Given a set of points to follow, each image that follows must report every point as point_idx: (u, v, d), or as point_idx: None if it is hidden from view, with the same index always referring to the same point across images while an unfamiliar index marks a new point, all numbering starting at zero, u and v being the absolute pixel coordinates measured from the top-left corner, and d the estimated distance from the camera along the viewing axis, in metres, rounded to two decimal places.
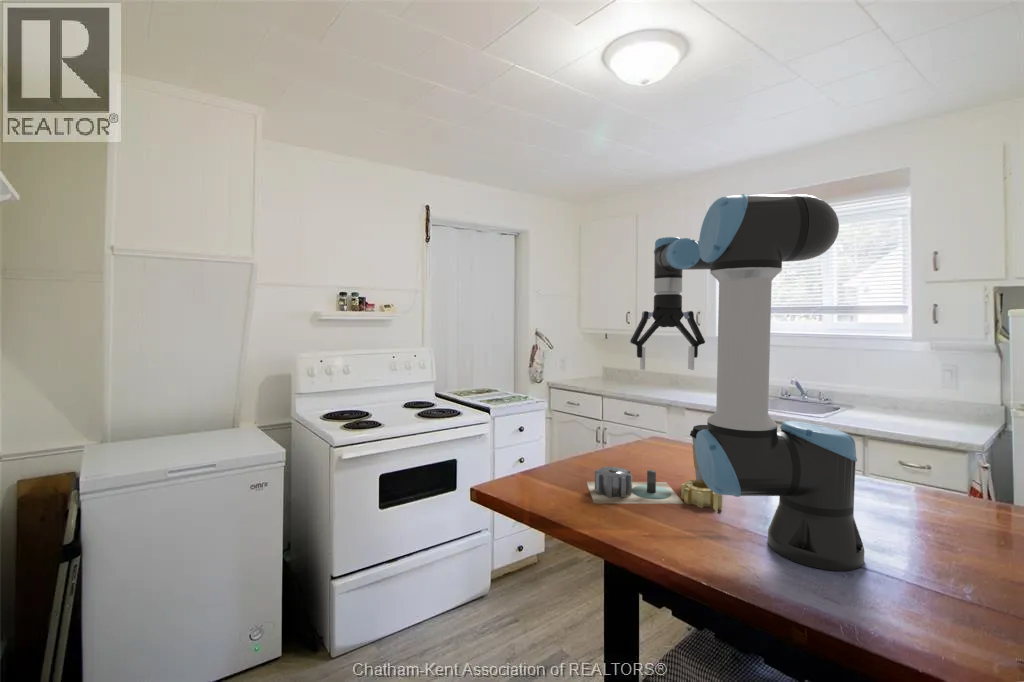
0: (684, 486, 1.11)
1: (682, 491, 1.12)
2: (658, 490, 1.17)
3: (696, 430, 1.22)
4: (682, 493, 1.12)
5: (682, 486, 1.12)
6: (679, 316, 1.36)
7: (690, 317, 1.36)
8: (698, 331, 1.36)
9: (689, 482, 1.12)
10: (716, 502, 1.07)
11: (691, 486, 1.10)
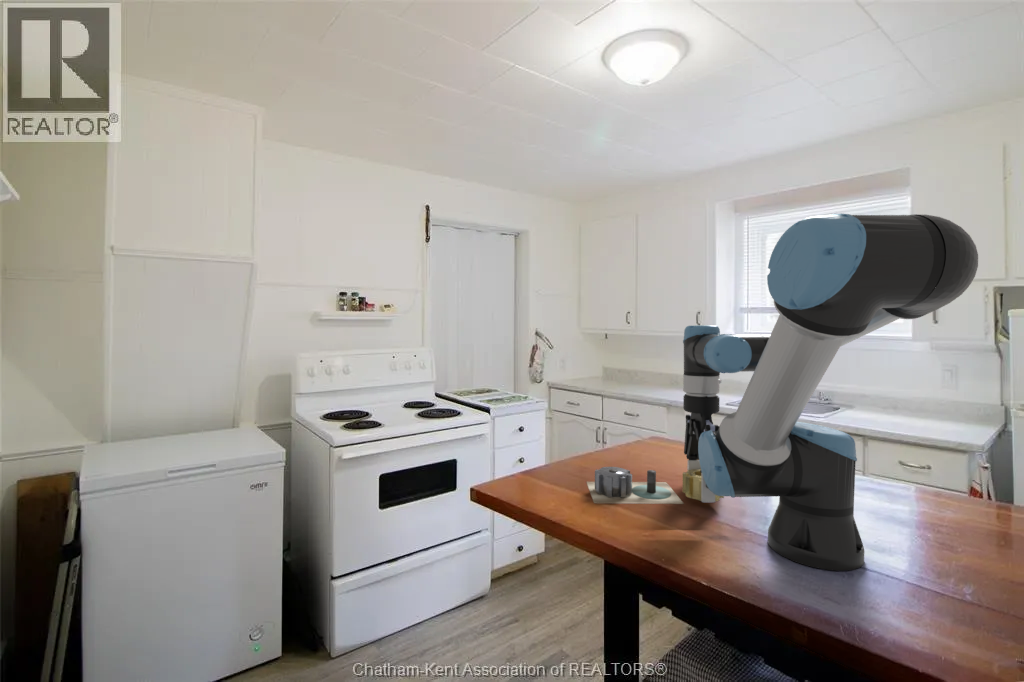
0: (685, 475, 1.11)
1: (683, 480, 1.11)
2: (658, 490, 1.17)
3: None
4: (683, 482, 1.11)
5: (683, 475, 1.11)
6: (700, 424, 1.07)
7: (705, 432, 1.04)
8: None
9: (690, 471, 1.12)
10: None
11: (692, 474, 1.09)
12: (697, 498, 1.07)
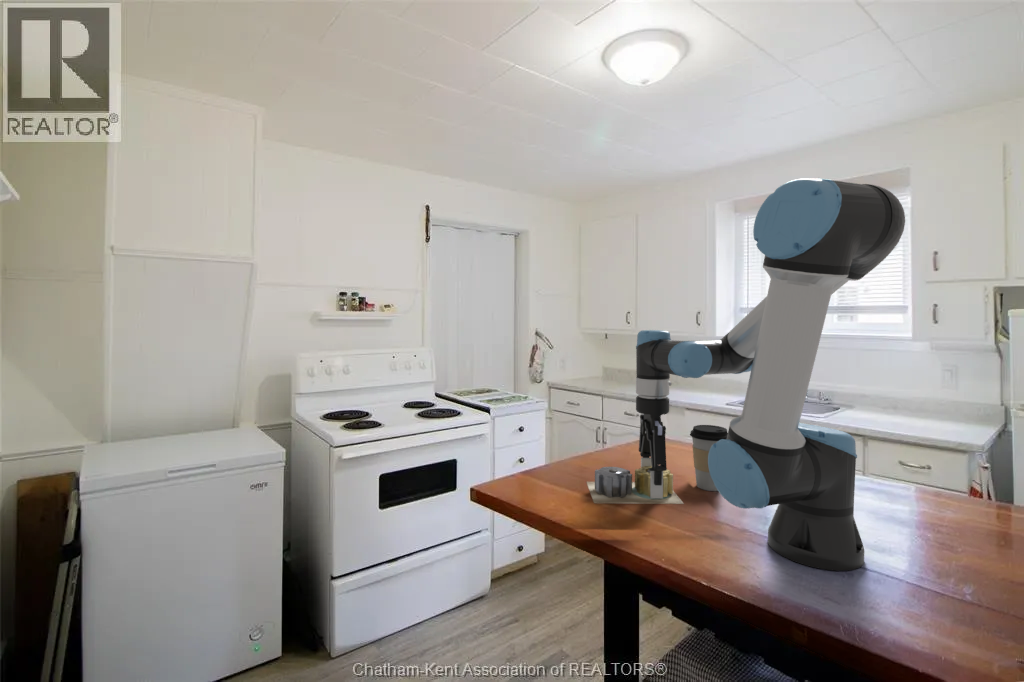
0: (637, 472, 1.17)
1: (636, 476, 1.17)
2: None
3: (696, 430, 1.22)
4: (636, 478, 1.17)
5: (636, 472, 1.17)
6: (650, 425, 1.12)
7: (653, 432, 1.10)
8: (654, 453, 1.09)
9: (643, 468, 1.18)
10: (666, 486, 1.12)
11: (643, 471, 1.15)
12: (647, 494, 1.14)
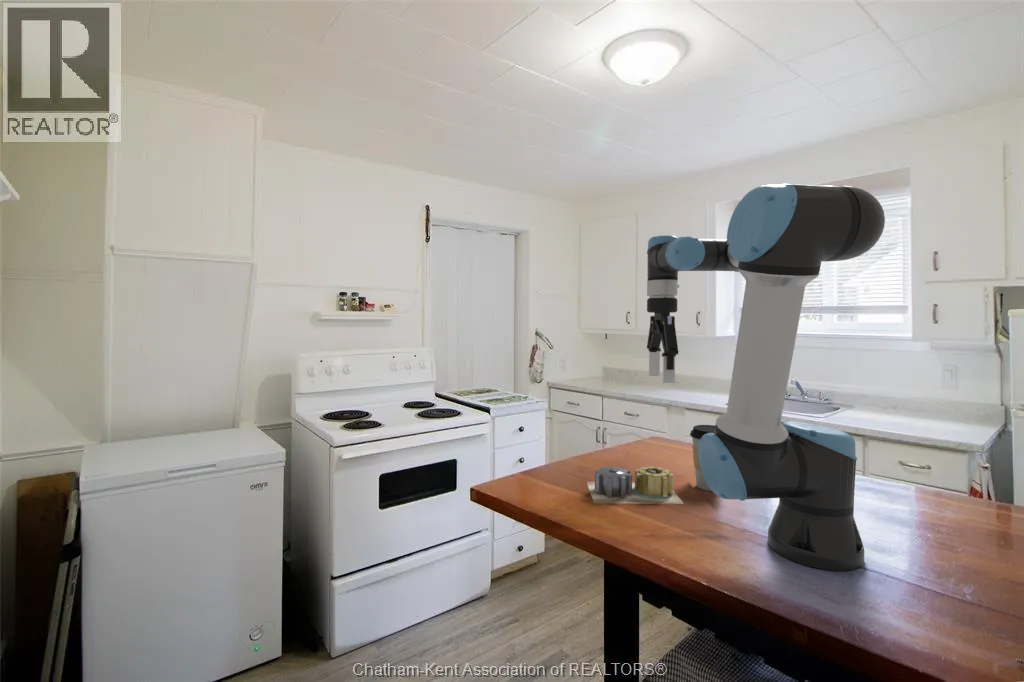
0: (637, 472, 1.17)
1: (636, 477, 1.17)
2: None
3: (696, 430, 1.22)
4: (636, 478, 1.17)
5: (636, 472, 1.17)
6: (660, 321, 1.24)
7: (663, 323, 1.21)
8: (666, 339, 1.19)
9: (643, 468, 1.18)
10: (666, 486, 1.12)
11: (643, 472, 1.15)
12: (647, 494, 1.13)
